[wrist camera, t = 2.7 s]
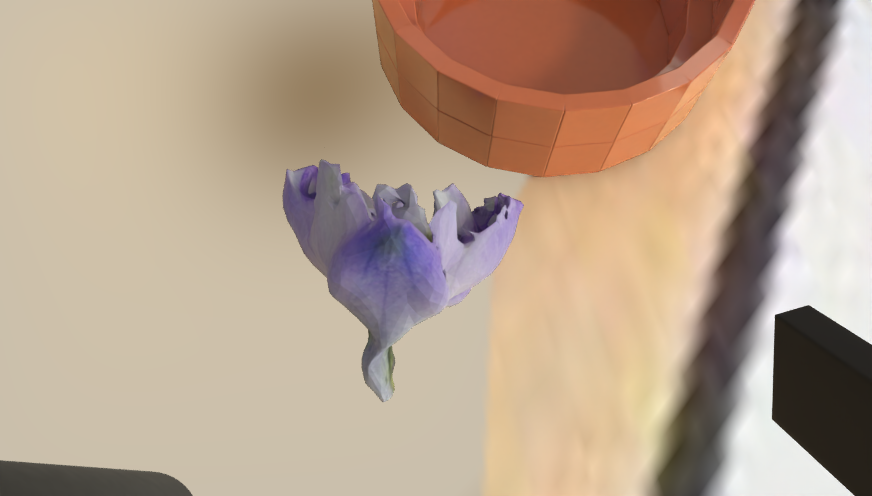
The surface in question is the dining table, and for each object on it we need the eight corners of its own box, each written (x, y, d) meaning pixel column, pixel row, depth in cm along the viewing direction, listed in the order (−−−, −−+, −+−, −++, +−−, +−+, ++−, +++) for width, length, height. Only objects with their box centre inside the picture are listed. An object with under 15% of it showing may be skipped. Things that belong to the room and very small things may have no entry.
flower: (507, 444, 19) (448, 114, 18) (276, 447, 22) (216, 169, 21) (563, 352, 27) (524, 125, 27) (389, 365, 31) (350, 163, 30)
